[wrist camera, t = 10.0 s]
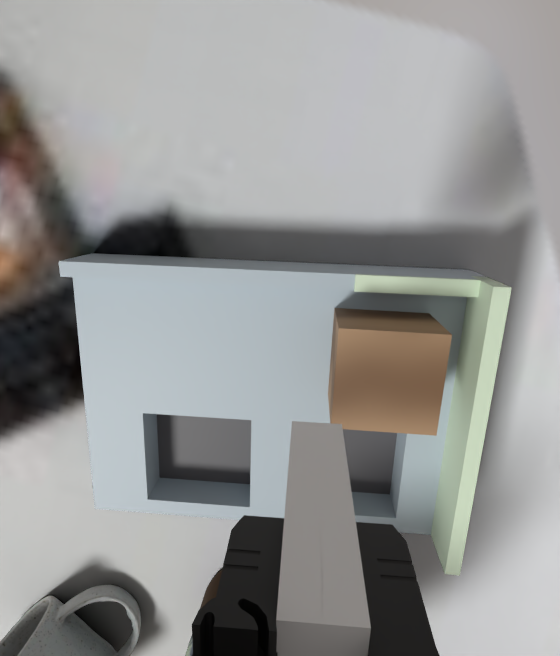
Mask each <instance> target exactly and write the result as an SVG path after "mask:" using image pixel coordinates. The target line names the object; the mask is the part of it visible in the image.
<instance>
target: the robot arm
mask: <svg viewBox="0 0 560 656" xmlns="http://www.w3.org/2000/svg"><path fill="white" fill-rule="evenodd" d="M192 640H193V654H192V655H191V656H439V653H438V651H437V648H436V646H435V642H434V639H433V635H432V632H431V628H430V625H429V621H428V617H427V614H426V610H425V607H424V603H423V600H422V596H421V593H420V589H419V585H418V582H417V581H416V575H415V571H414V568H413V565H412V561H411V557H410V553H409V550H408V546H407V543H406V541H405V540H404V538H403V537H402V536H401V534H400V533H399V532H398V531H397V529H396V528H395V527H394V526H393V525H391V524H378V523H364V522H356V520H355V513H354V506H353V499H352V492H351V485H350V478H349V471H348V464H347V457H346V450H345V443H344V436H343V429H342V424H332V423H315V422H299V421H292V427H291V440H290V452H289V465H288V478H287V490H286V503H285V515H284V518H275V517H261V516H248V515H244V516H243V517H242V518H241V519H240V520H239V522H238V523H237V524H236V525H235V527H234V528H233V529H232V530H231V535H230V539H229V543H228V547H227V552H226V556H225V560H224V565H223V569H222V573H221V577H220V581H219V586H218V590H217V594H216V597H215V598H213V599H211V600H210V601H208V602H207V603H206V604H205V605H204V606H203V607H202V608H201V609H200V610H199V611H198V613H197V615H196V618H195V620H194V622H193V624H192Z"/></svg>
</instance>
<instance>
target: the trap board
mask: <svg viewBox="0 0 560 656" xmlns="http://www.w3.org/2000/svg"><path fill="white" fill-rule="evenodd" d="M59 269H60V277H73V286H74V296H75V307H76V317H77V327H78V338H79V348H80V359H81V369H82V380H83V390H84V401H85V411H86V422H87V432H88V442H89V453H90V463H91V474H92V484H93V495H94V505H95V509H104V510H117V511H130V512H143V513H155V514H168V515H181V516H194V517H207V518H220V519H233V520H240V519H241V518H242V517H243V516H244V515H248V516H261V517H275V518H284V515H285V503H286V490H287V478H288V465H289V452H290V440H291V427H292V421H299V422H315V423H330V414H329V401H328V385H329V372H330V359H331V346H332V333H333V320H334V308H345V309H363V310H381V311H399V312H417V313H430V314H431V315H432V316H433V317H434V318H435V319H436V320H437V321H438V322H439V323H440V324H441V325H442V326H443V327H444V328H445V329H446V330H448V331H449V332H450V333H451V334H452V339H451V345H450V352H449V358H448V365H447V371H446V378H445V384H444V391H443V397H442V404H441V410H440V417H439V423H438V429H437V436H434V435H419V434H405V433H391V432H377V431H363V430H348V429H343V436H344V443H345V450H346V457H347V464H348V471H349V478H350V485H351V492H352V499H353V506H354V513H355V520H356V522H364V523H378V524H391V525H393V526H394V527H395V528H396V529H397V531H398V532H400V533H413V534H426V535H431V537H432V540H433V543H434V545H435V548H436V551H437V554H438V557H439V559H440V562H441V565H442V568H443V571H444V573H445V574H447V575H459V576H460V571H461V565H462V560H463V554H464V549H465V543H466V538H467V532H468V527H469V521H470V516H471V510H472V505H473V499H474V494H475V488H476V483H477V477H478V471H479V466H480V460H481V455H482V449H483V444H484V438H485V433H486V427H487V422H488V416H489V411H490V405H491V400H492V394H493V389H494V383H495V377H496V372H497V366H498V361H499V355H500V350H501V344H502V339H503V333H504V328H505V322H506V317H507V311H508V306H509V300H510V295H511V289H512V287H509V286H507V285H505V284H502V283H500V282H498V281H495V280H493V279H490V278H488V277H486V276H483V275H481V274H479V273H476V272H474V271H472V270H466V269H443V268H420V267H397V266H374V265H350V264H327V263H304V262H281V261H258V260H235V259H212V258H189V257H166V256H143V255H120V254H97V253H92V254H88V255H83V256H79V257H75V258H71V259H66V260H62V261H59Z"/></svg>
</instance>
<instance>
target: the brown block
mask: <svg viewBox="0 0 560 656" xmlns="http://www.w3.org/2000/svg"><path fill="white" fill-rule="evenodd" d="M451 339H452V334H451V333H450V332H449V331H448V330H446V329H445V328H444V327H443V326H442V325H441V324H440V323H439V322H438V321H437V320H436V319H435V318H434V317H433V316H432V315H431V314H430V313H417V312H399V311H381V310H363V309H345V308H334V320H333V333H332V346H331V359H330V372H329V385H328V401H329V414H330V423H332V424H342V429H348V430H363V431H377V432H391V433H405V434H419V435H434V436H437V429H438V423H439V417H440V410H441V404H442V397H443V391H444V384H445V378H446V371H447V365H448V358H449V352H450V345H451Z"/></svg>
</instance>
